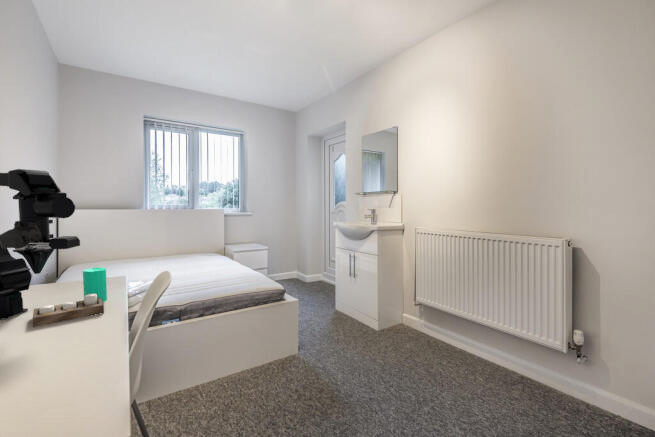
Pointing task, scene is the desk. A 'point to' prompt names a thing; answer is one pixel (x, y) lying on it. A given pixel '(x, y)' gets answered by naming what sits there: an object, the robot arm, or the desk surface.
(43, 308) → the button near
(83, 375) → the desk surface
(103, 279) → the candle
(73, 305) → the button middle
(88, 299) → the button far
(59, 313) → the button board
